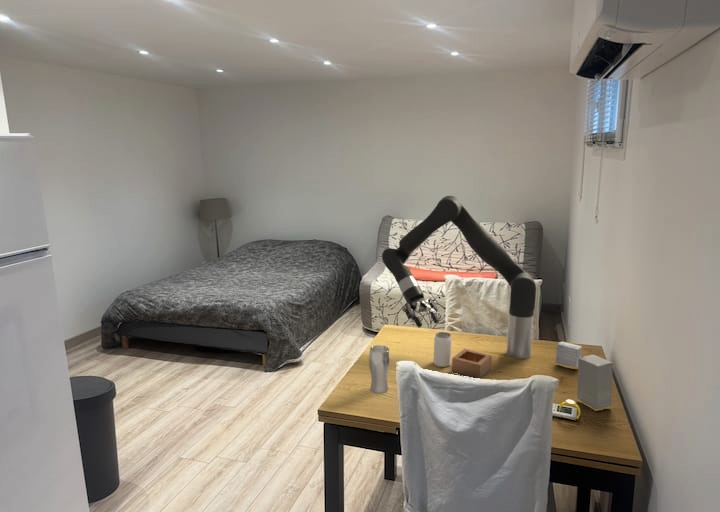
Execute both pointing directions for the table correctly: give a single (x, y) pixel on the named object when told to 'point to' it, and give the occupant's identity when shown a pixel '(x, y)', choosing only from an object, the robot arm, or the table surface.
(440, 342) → the can
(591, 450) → the table surface
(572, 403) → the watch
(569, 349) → the medicine box
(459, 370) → the box
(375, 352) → the beer glass
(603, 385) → the skincare box
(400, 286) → the robot arm
